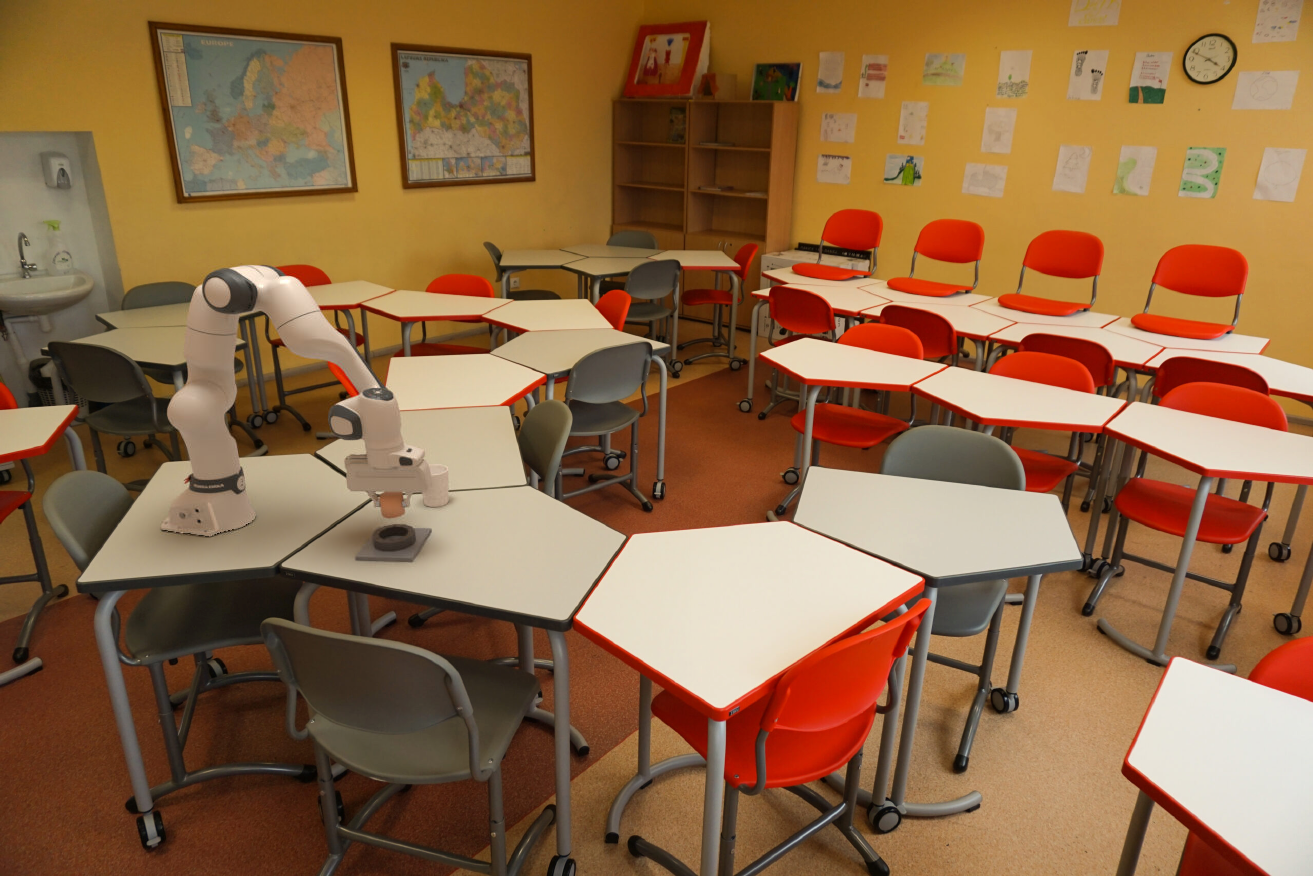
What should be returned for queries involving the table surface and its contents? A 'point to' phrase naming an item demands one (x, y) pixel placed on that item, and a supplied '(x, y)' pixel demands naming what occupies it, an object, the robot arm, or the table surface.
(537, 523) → the table surface
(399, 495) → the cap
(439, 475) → the white cup
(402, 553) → the square flange plate
